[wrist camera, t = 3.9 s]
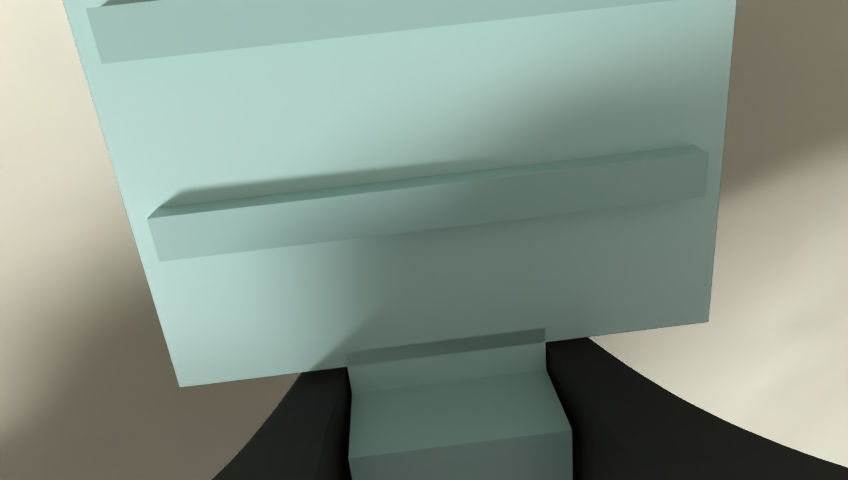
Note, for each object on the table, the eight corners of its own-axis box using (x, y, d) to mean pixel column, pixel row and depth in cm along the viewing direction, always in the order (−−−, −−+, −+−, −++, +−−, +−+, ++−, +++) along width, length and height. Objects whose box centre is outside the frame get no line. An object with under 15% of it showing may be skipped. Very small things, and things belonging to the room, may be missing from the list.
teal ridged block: (612, 326, 14) (741, 517, 9) (260, 369, 14) (195, 588, 9) (626, -395, 9) (913, -819, 4) (89, -343, 9) (-256, -726, 4)
